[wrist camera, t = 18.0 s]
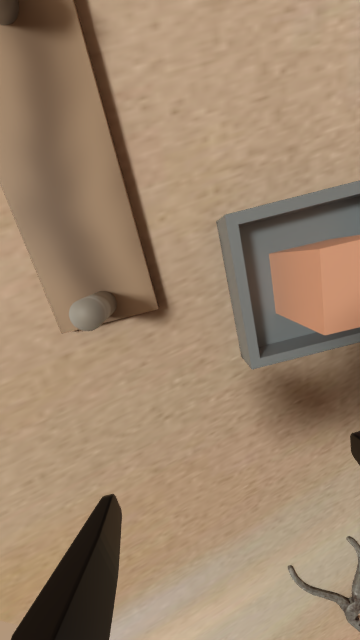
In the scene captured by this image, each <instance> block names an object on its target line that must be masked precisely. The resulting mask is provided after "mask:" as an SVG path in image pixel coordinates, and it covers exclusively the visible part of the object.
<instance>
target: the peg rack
mask: <svg viewBox="0 0 360 640" xmlns="http://www.w3.org/2000/svg"><path fill="white" fill-rule="evenodd" d="M0 185H1V187H2V190H3V192H4V195H5V197H6V199H7V202H8V204H9V207H10V209H11V212H12V214H13V216H14V219H15V221H16V224H17V226H18V229H19V231H20V234H21V236H22V238H23V241H24V243H25V246H26V248H27V251H28V253H29V255H30V258H31V260H32V263H33V265H34V268H35V270H36V273H37V275H38V277H39V280H40V282H41V285H42V287H43V290H44V292H45V295H46V297H47V299H48V302H49V304H50V307H51V309H52V312H53V314H54V316H55V319H56V321H57V324H58V326H59V329H60V331H61V334H63V333H67V332H71V331H75V330H79V329H80V330H83V331H92V330H95V329H96V328H98V327H99V326H100V325H101V324H102V323H106V322H110V321H114V320H118V319H122V318H126V317H130V316H134V315H138V314H142V313H146V312H150V311H153V310H157V309H159V305H158V302H157V298H156V295H155V291H154V287H153V284H152V280H151V276H150V273H149V269H148V266H147V262H146V258H145V255H144V251H143V248H142V244H141V240H140V237H139V233H138V229H137V226H136V222H135V219H134V215H133V211H132V208H131V204H130V201H129V197H128V193H127V190H126V186H125V182H124V179H123V175H122V172H121V168H120V164H119V161H118V157H117V153H116V150H115V146H114V143H113V139H112V135H111V132H110V128H109V125H108V121H107V117H106V114H105V110H104V106H103V103H102V99H101V96H100V92H99V88H98V85H97V81H96V77H95V74H94V70H93V67H92V63H91V59H90V56H89V52H88V49H87V45H86V41H85V38H84V34H83V30H82V27H81V23H80V20H79V16H78V12H77V9H76V5H75V2H74V0H0Z"/></svg>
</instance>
